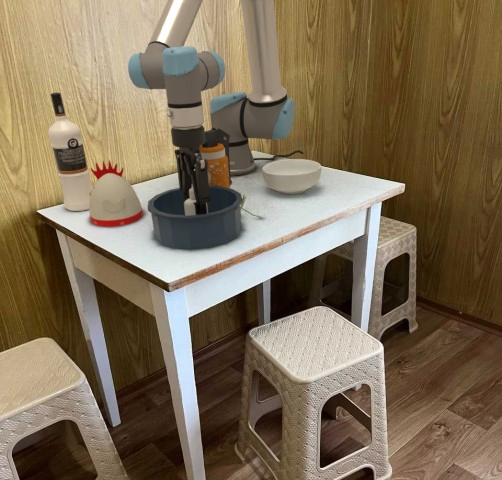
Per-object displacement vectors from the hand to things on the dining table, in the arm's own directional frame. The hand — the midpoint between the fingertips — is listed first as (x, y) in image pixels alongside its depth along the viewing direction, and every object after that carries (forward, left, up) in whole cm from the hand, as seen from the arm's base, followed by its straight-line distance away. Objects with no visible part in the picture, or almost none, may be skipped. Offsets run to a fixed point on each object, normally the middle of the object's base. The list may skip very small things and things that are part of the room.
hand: (197, 224), depth 128 cm
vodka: (+20, -37, -2) cm, 42 cm away
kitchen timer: (+14, -22, -2) cm, 27 cm away
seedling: (-17, +2, -2) cm, 17 cm away
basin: (0, 0, -2) cm, 2 cm away
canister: (-13, -15, -2) cm, 20 cm away
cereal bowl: (-36, -12, -2) cm, 38 cm away
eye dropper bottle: (0, 0, -2) cm, 2 cm away
